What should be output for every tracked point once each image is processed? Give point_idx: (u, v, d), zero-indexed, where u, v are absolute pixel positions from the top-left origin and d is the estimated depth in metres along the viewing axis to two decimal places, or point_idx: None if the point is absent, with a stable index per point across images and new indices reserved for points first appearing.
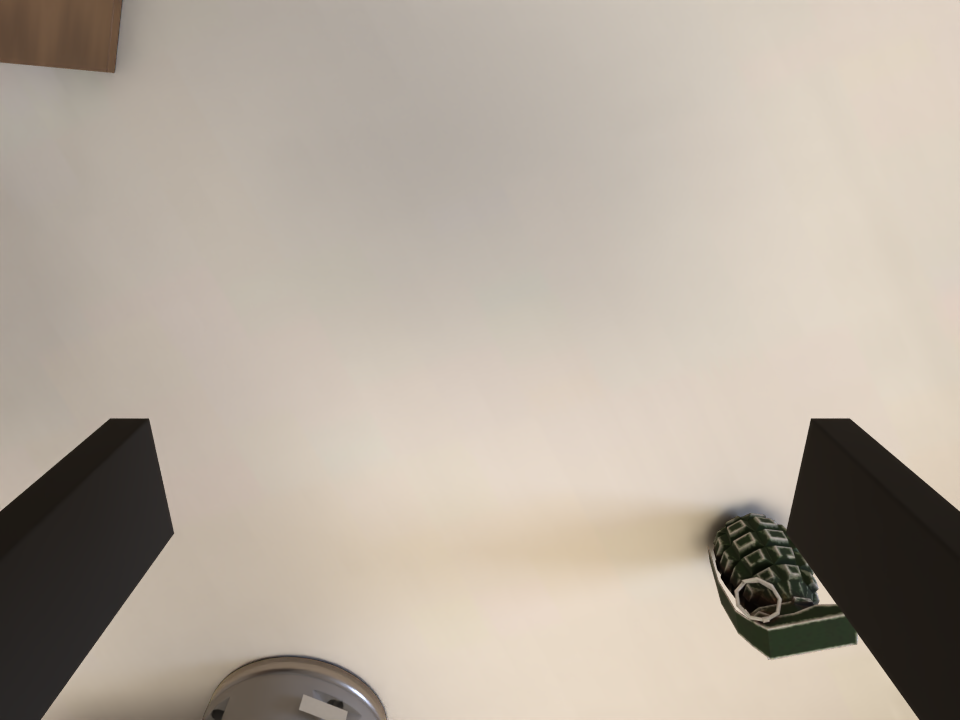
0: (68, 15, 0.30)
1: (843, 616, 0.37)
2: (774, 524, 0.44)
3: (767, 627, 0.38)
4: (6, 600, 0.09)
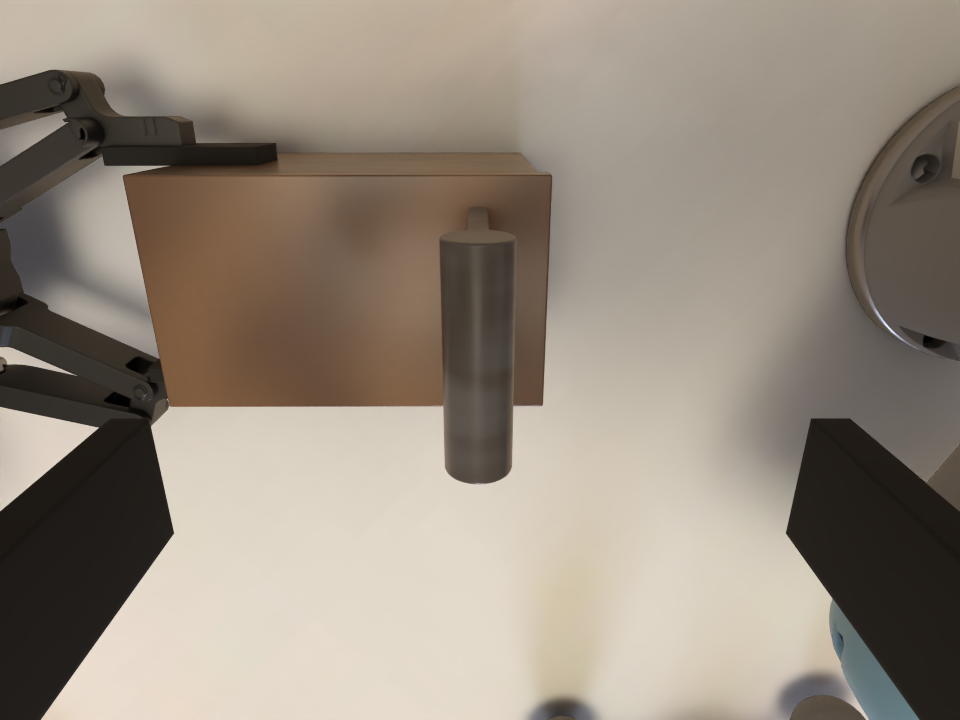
0: None
1: None
2: None
3: None
4: (5, 600, 0.09)
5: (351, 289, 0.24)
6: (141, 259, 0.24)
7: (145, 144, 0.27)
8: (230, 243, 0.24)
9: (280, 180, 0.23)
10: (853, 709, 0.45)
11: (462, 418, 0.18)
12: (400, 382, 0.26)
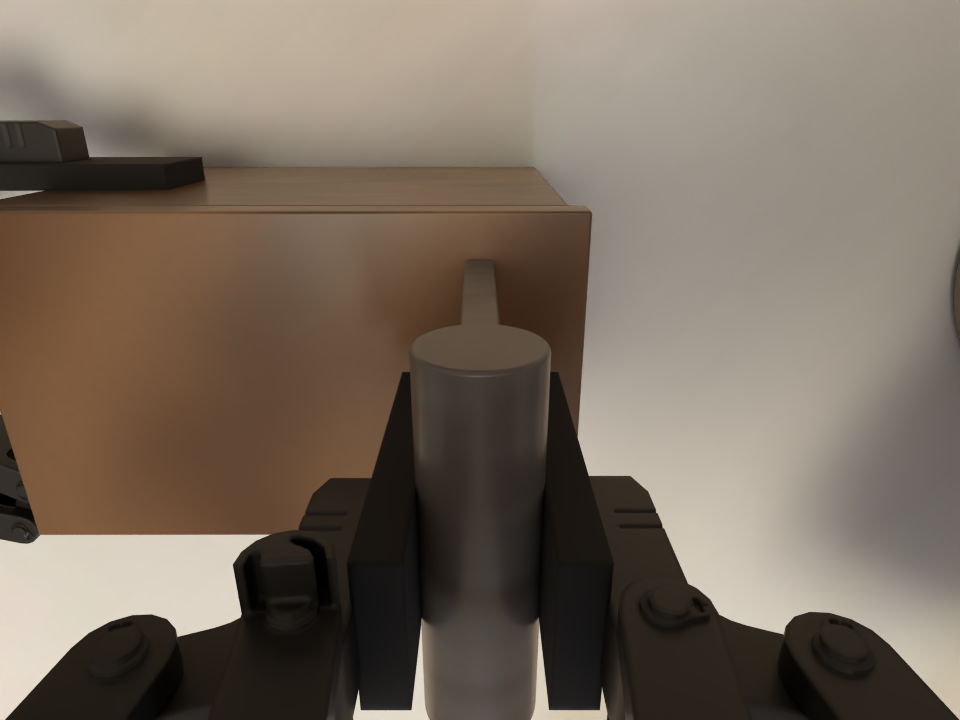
0: None
1: None
2: None
3: None
4: None
5: (291, 376, 0.17)
6: None
7: (11, 160, 0.19)
8: (109, 311, 0.16)
9: (179, 220, 0.15)
10: None
11: (452, 652, 0.10)
12: None
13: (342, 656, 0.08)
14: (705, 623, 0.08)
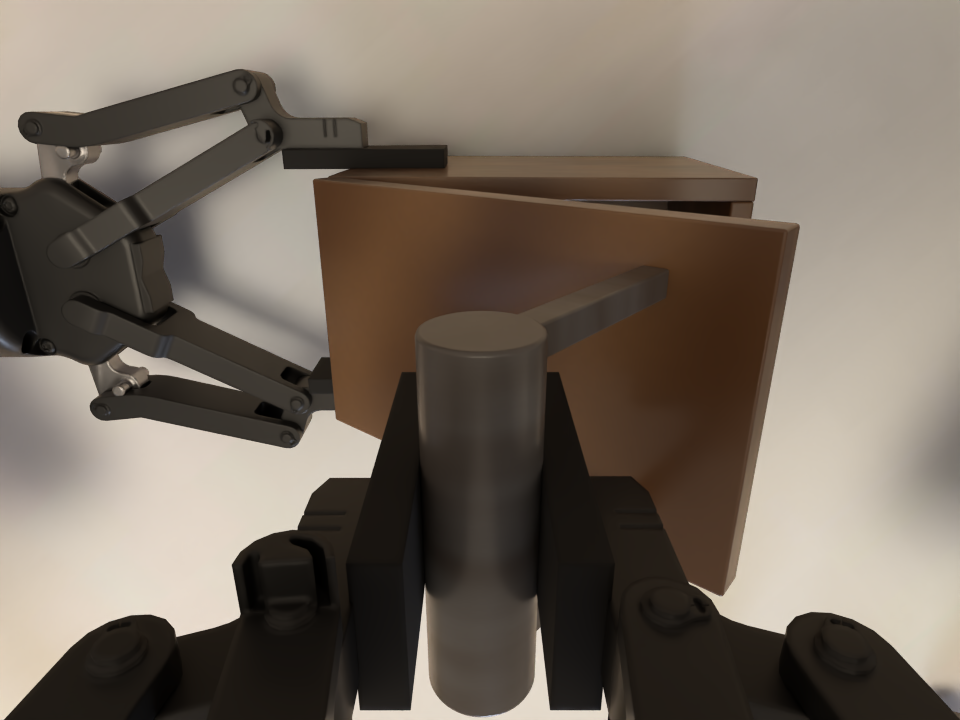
0: None
1: None
2: None
3: None
4: None
5: None
6: (321, 267, 0.23)
7: (324, 146, 0.26)
8: (386, 264, 0.21)
9: (431, 199, 0.18)
10: None
11: (429, 601, 0.12)
12: None
13: (341, 656, 0.08)
14: (706, 623, 0.08)
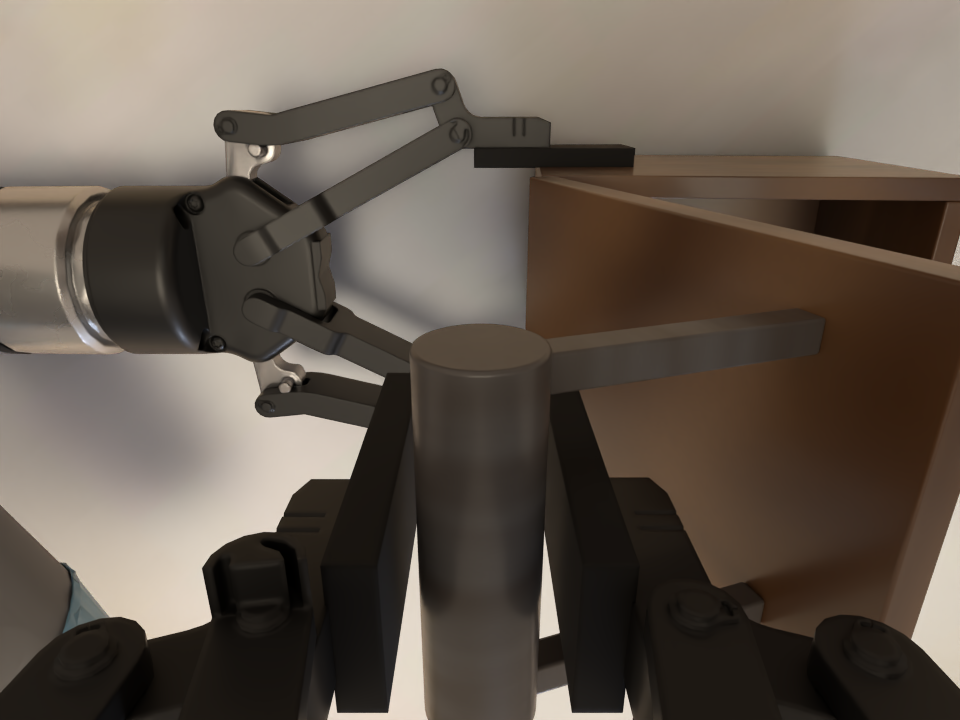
0: None
1: None
2: None
3: None
4: (398, 503, 0.11)
5: None
6: (527, 263, 0.23)
7: (511, 145, 0.26)
8: (571, 268, 0.20)
9: (612, 204, 0.17)
10: None
11: None
12: None
13: (315, 657, 0.08)
14: (735, 626, 0.08)
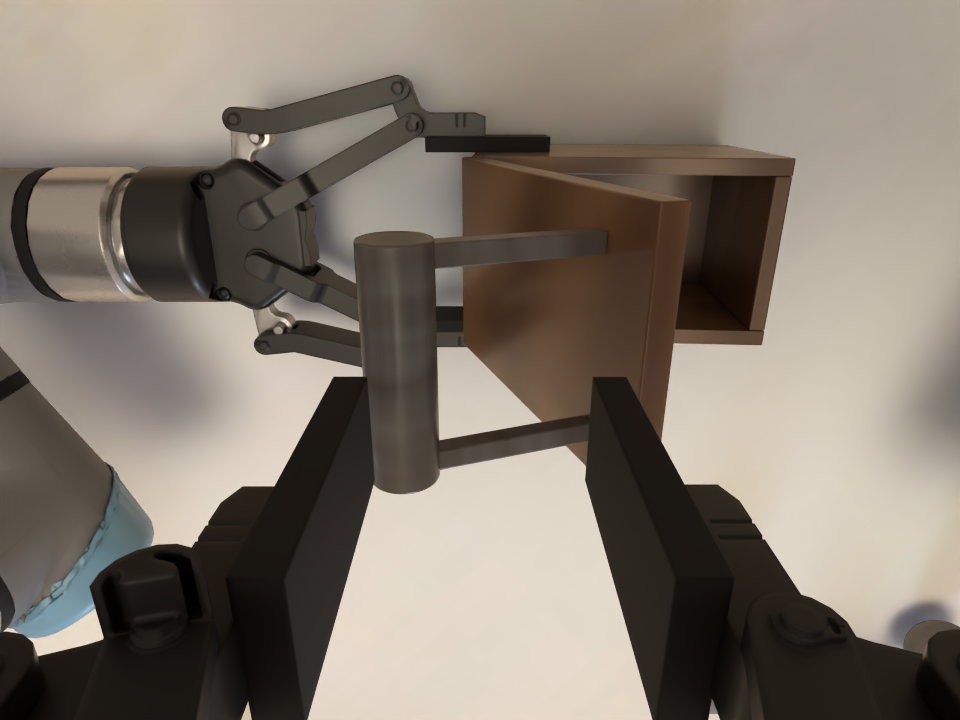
0: None
1: None
2: None
3: None
4: (326, 511, 0.10)
5: (530, 288, 0.24)
6: None
7: (455, 135, 0.33)
8: (489, 222, 0.27)
9: (509, 173, 0.25)
10: None
11: None
12: (545, 399, 0.24)
13: (218, 668, 0.08)
14: (842, 645, 0.07)
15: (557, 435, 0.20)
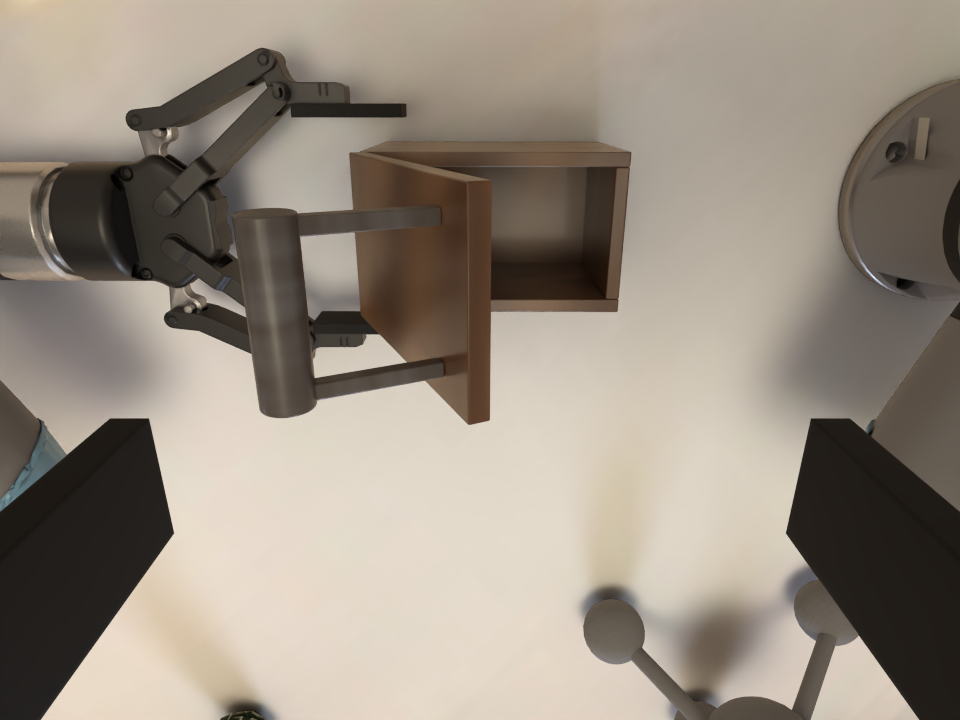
0: None
1: None
2: None
3: None
4: (5, 600, 0.09)
5: (399, 259, 0.29)
6: (353, 210, 0.35)
7: (319, 102, 0.38)
8: (370, 207, 0.32)
9: (380, 164, 0.30)
10: None
11: None
12: (415, 350, 0.29)
13: None
14: None
15: (414, 372, 0.26)
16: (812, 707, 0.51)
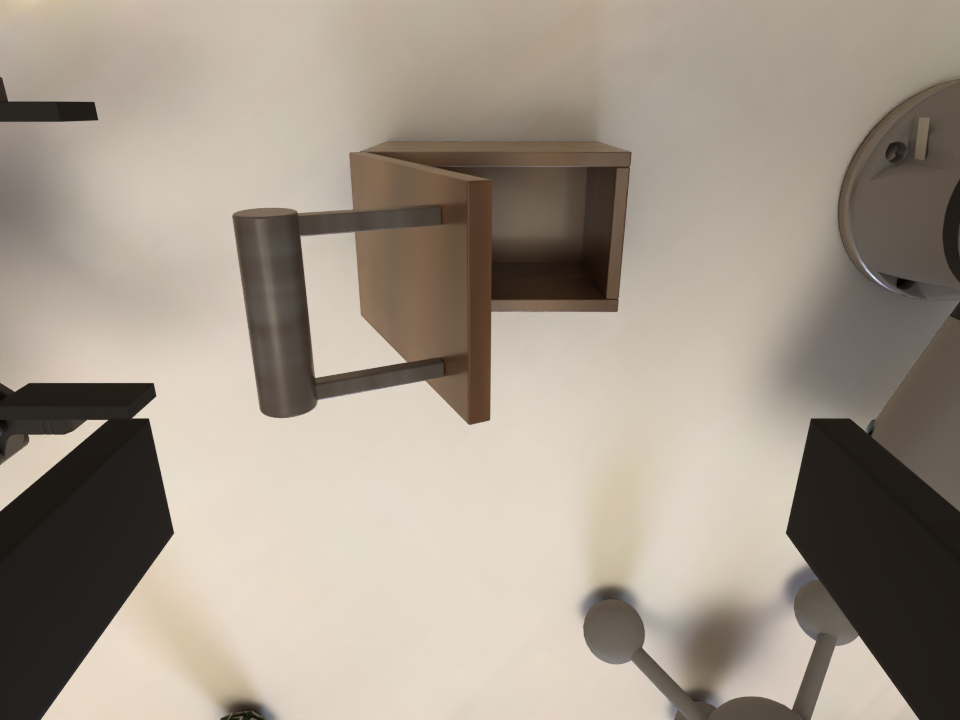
0: None
1: None
2: None
3: None
4: (5, 600, 0.09)
5: (399, 259, 0.29)
6: (353, 210, 0.35)
7: None
8: (370, 207, 0.32)
9: (380, 164, 0.30)
10: None
11: None
12: (415, 350, 0.29)
13: None
14: None
15: (414, 372, 0.26)
16: (812, 707, 0.51)
